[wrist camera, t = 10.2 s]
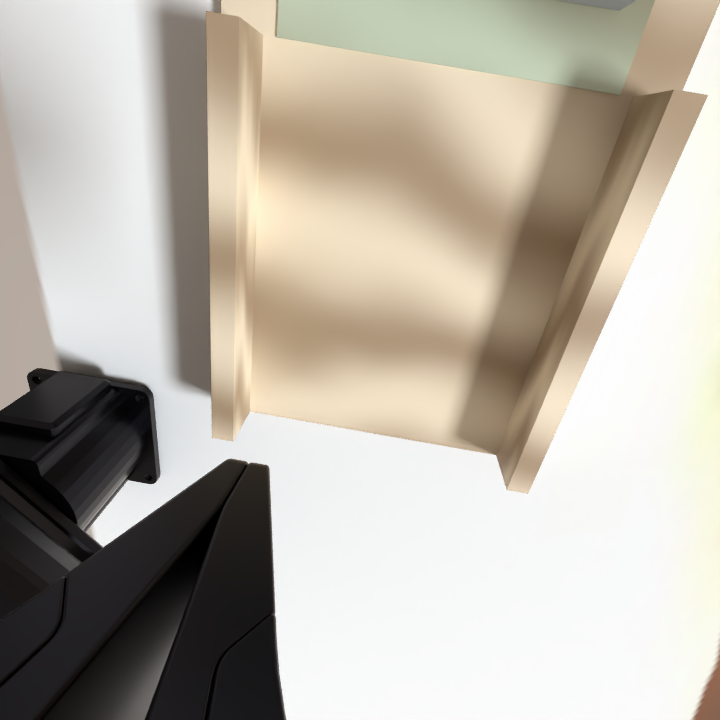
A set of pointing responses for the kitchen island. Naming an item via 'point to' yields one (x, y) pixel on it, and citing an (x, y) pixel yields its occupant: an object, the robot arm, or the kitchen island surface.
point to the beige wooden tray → (432, 206)
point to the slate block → (603, 3)
